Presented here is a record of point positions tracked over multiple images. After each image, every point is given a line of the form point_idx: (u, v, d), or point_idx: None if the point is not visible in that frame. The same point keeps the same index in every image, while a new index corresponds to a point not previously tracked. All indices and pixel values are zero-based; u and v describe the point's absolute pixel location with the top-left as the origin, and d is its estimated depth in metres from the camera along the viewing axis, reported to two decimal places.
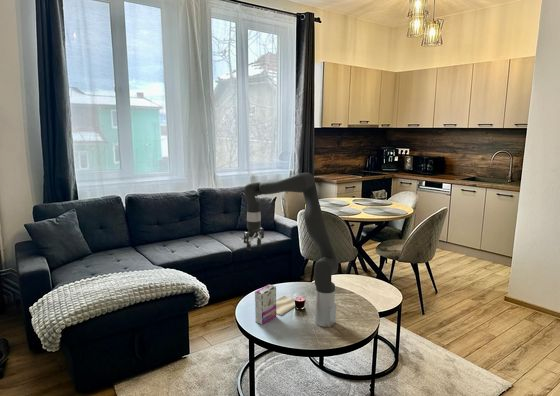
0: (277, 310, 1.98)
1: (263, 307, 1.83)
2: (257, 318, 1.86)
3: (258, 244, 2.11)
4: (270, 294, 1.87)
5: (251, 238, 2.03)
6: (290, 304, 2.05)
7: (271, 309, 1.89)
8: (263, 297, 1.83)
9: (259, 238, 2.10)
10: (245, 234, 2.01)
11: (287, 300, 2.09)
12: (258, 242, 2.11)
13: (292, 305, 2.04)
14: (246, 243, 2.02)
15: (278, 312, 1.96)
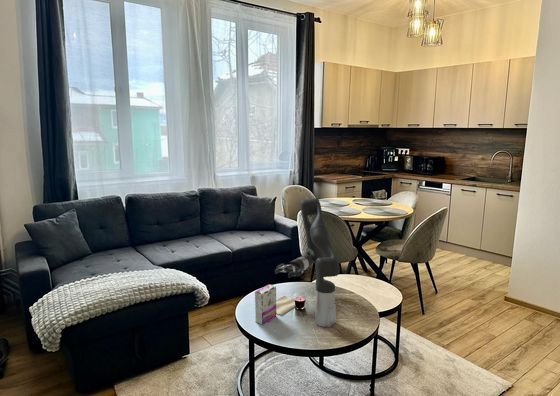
0: (277, 310, 1.98)
1: (263, 307, 1.83)
2: (257, 318, 1.86)
3: None
4: (270, 294, 1.87)
5: (283, 266, 2.05)
6: (290, 304, 2.05)
7: (271, 309, 1.89)
8: (263, 297, 1.83)
9: (293, 270, 1.99)
10: None
11: (287, 300, 2.09)
12: None
13: (292, 305, 2.04)
14: None
15: (278, 312, 1.96)
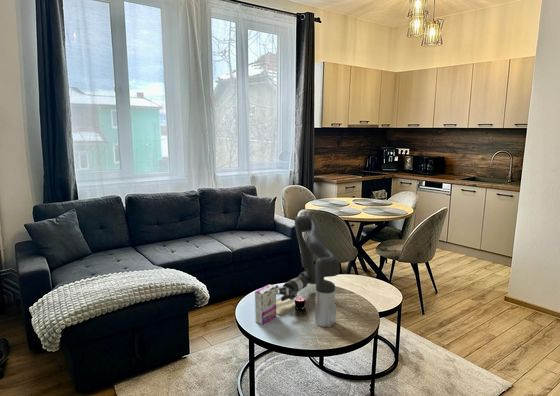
0: (277, 310, 1.98)
1: (263, 307, 1.83)
2: (257, 318, 1.86)
3: None
4: (270, 294, 1.87)
5: (277, 288, 2.02)
6: (290, 304, 2.05)
7: (271, 309, 1.89)
8: (263, 297, 1.83)
9: (286, 293, 1.96)
10: None
11: (287, 300, 2.09)
12: None
13: (292, 305, 2.04)
14: None
15: (278, 312, 1.96)
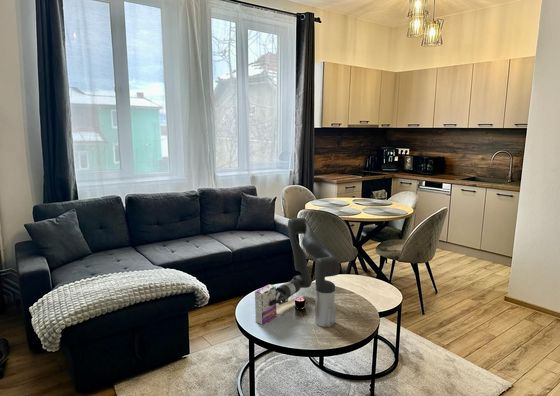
0: (277, 310, 1.98)
1: (263, 307, 1.83)
2: (257, 318, 1.86)
3: None
4: (270, 294, 1.87)
5: None
6: (290, 304, 2.05)
7: (271, 309, 1.89)
8: (263, 297, 1.83)
9: (275, 298, 1.91)
10: None
11: None
12: None
13: (292, 305, 2.04)
14: None
15: (278, 312, 1.96)
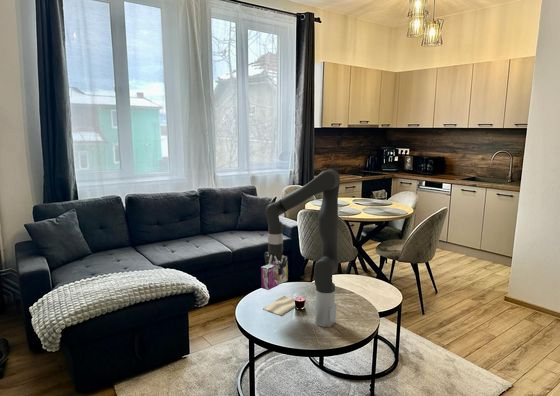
0: (277, 310, 1.98)
1: None
2: None
3: None
4: None
5: (282, 261, 1.92)
6: (290, 304, 2.05)
7: None
8: None
9: None
10: (286, 259, 1.89)
11: (287, 300, 2.09)
12: None
13: (292, 305, 2.04)
14: None
15: (278, 312, 1.96)
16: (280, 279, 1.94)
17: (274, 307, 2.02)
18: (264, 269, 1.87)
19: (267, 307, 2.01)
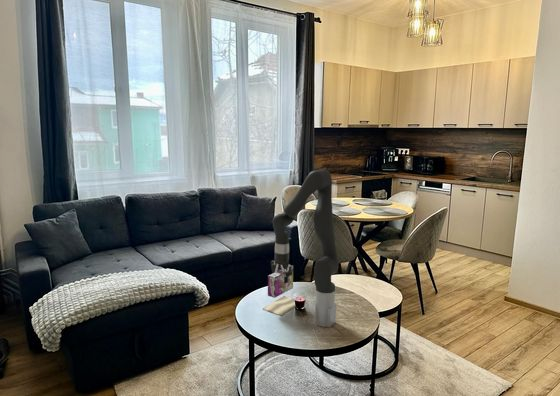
0: (277, 310, 1.98)
1: None
2: None
3: None
4: None
5: (287, 269, 2.00)
6: (290, 304, 2.05)
7: None
8: None
9: (279, 270, 2.02)
10: (292, 268, 1.96)
11: (287, 300, 2.09)
12: None
13: (292, 305, 2.04)
14: (290, 275, 1.98)
15: (278, 312, 1.96)
16: (285, 287, 2.01)
17: (274, 307, 2.02)
18: (271, 278, 1.94)
19: (267, 307, 2.01)
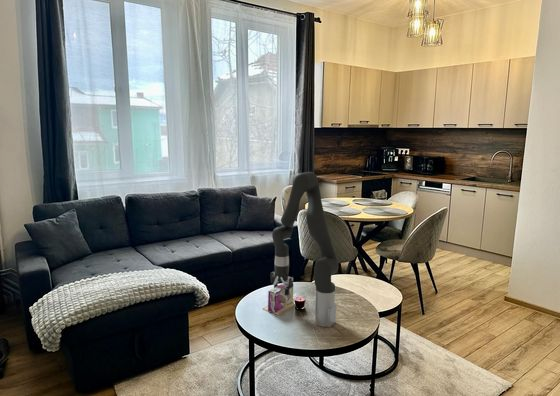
0: None
1: None
2: None
3: None
4: None
5: (288, 281, 2.00)
6: (290, 304, 2.05)
7: None
8: None
9: None
10: (292, 279, 1.97)
11: None
12: None
13: (292, 305, 2.04)
14: (291, 287, 1.99)
15: (278, 312, 1.96)
16: (285, 301, 2.02)
17: None
18: (271, 293, 1.95)
19: (267, 307, 2.01)
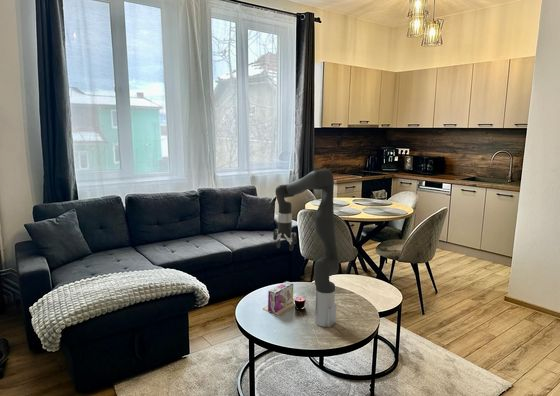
0: None
1: None
2: None
3: (279, 245, 2.13)
4: None
5: (291, 237, 2.09)
6: (290, 304, 2.05)
7: None
8: None
9: (280, 238, 2.13)
10: (295, 234, 2.05)
11: None
12: (279, 243, 2.13)
13: (292, 305, 2.04)
14: None
15: (278, 312, 1.96)
16: (285, 301, 2.02)
17: None
18: (271, 293, 1.95)
19: (267, 307, 2.01)
